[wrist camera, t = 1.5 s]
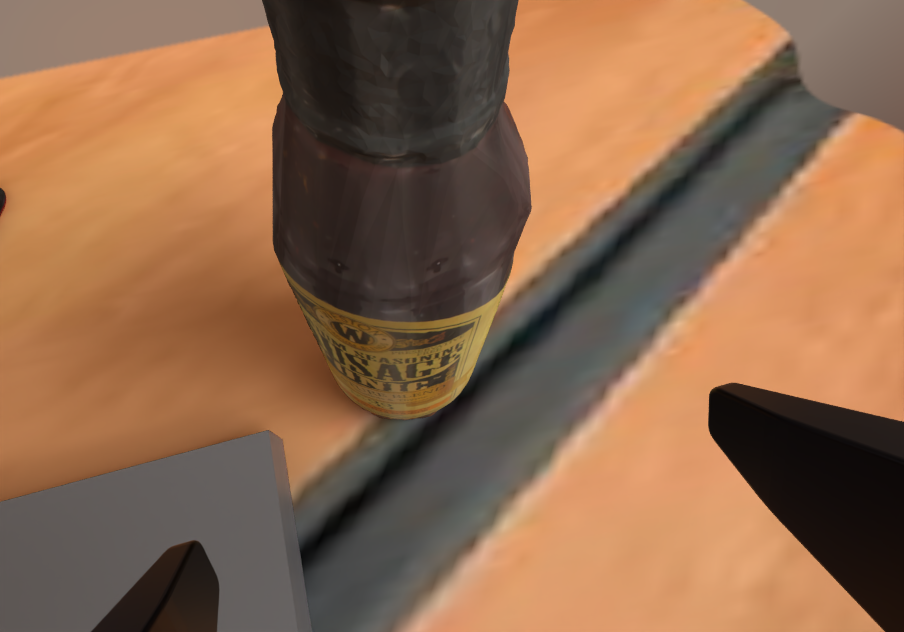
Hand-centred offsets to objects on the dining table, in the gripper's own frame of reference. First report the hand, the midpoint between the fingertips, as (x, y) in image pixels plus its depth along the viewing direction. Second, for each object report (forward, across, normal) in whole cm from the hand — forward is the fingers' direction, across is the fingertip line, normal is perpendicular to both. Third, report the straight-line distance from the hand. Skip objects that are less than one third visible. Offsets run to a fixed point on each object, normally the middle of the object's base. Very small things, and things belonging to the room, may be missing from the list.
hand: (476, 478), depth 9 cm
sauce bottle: (+14, 0, +5) cm, 15 cm away
